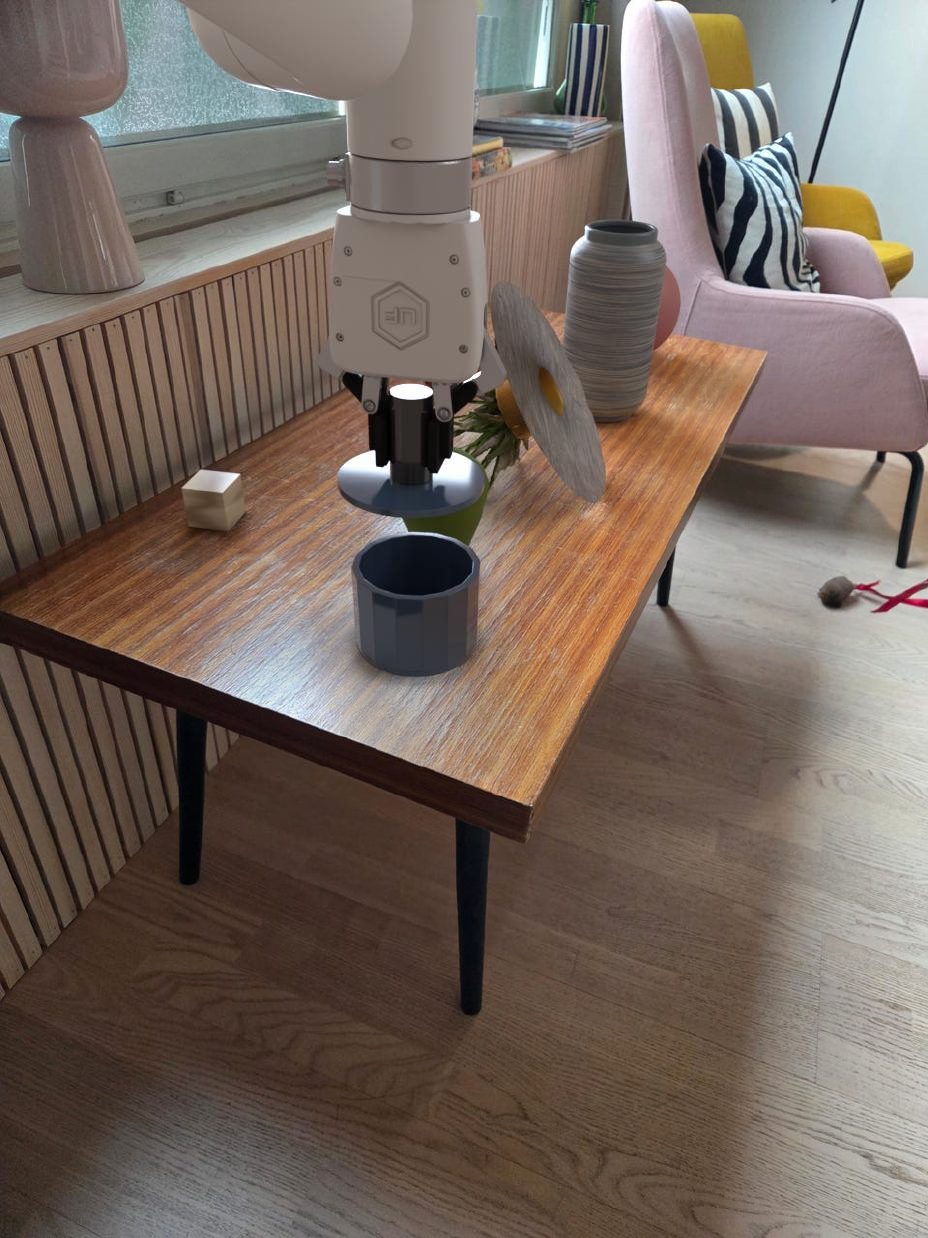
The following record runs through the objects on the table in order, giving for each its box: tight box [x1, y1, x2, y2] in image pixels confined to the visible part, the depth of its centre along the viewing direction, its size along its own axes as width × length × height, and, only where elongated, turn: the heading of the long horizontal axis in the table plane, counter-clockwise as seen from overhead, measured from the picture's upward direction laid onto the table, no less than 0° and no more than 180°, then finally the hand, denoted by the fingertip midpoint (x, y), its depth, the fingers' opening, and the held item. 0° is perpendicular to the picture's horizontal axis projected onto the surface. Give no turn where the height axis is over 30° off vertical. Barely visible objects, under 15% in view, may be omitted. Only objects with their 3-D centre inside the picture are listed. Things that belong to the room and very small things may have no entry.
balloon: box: [653, 264, 682, 352], centre depth 127 cm, size 15×20×15 cm
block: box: [180, 469, 246, 533], centre depth 88 cm, size 4×4×4 cm
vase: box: [562, 219, 667, 423], centre depth 109 cm, size 12×12×23 cm
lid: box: [336, 383, 485, 519], centre depth 62 cm, size 11×11×8 cm
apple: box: [401, 445, 490, 547], centre depth 80 cm, size 9×8×12 cm
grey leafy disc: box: [454, 280, 607, 503], centre depth 95 cm, size 25×18×25 cm
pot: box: [350, 531, 481, 677], centre depth 71 cm, size 10×10×8 cm
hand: (411, 460), depth 63 cm, fingers closed on lid, 3 cm apart
